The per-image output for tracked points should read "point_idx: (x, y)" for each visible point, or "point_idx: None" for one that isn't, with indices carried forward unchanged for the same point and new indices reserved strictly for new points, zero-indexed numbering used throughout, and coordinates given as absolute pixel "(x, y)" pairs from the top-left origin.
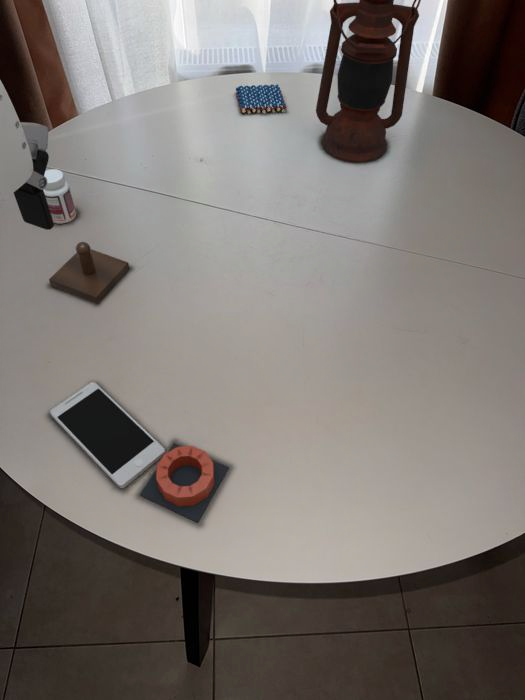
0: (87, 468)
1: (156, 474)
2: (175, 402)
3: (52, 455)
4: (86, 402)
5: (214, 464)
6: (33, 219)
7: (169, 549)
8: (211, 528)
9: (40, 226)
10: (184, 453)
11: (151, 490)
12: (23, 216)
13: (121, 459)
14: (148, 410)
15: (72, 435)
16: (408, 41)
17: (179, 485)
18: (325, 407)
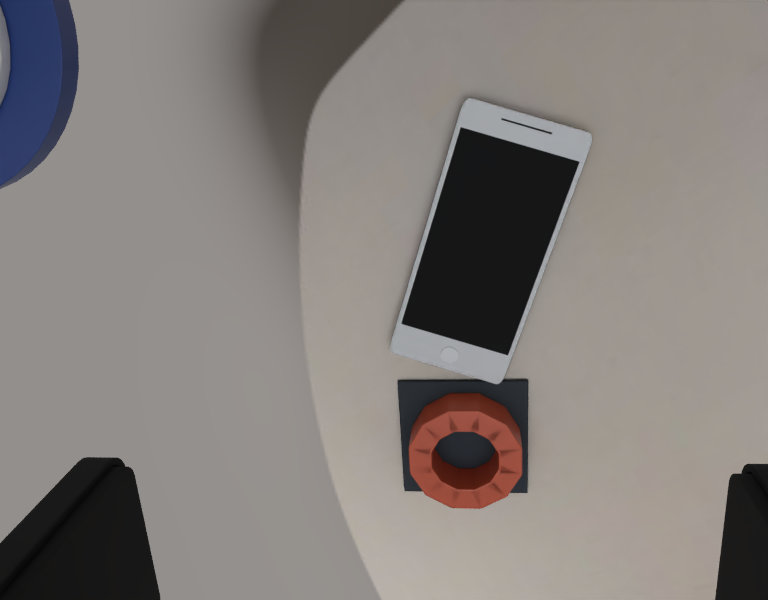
0: (395, 259)
1: (432, 419)
2: (626, 330)
3: (383, 173)
4: (528, 163)
5: None
6: (739, 583)
7: (342, 469)
8: (408, 510)
9: (720, 588)
10: (498, 444)
11: (415, 396)
12: (745, 510)
13: (439, 321)
14: (580, 289)
15: (437, 192)
16: None
17: (449, 434)
18: None
